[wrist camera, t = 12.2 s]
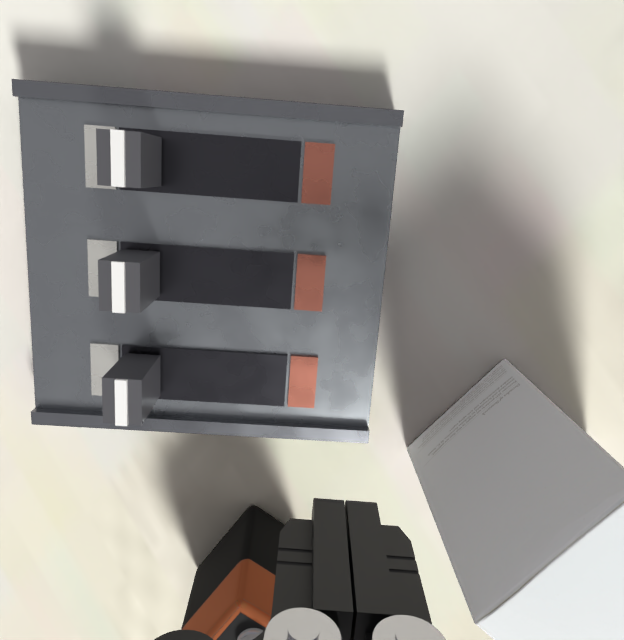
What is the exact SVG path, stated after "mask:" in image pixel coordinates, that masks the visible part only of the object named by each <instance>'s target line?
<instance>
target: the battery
mask: <svg viewBox="0 0 624 640" xmlns="http://www.w3.org/2000/svg"><path fill="white" fill-rule="evenodd" d="M284 526H285V525H284V524H283V523H281V522H279V521H278V520H276V519H275V518H273V517H272V516H270V515H269V514H267V513H266V512H264V511H263V510H261V509H260V508H258V507H256V506H251V507H249V508H248V509H247V510H246V511H245V512H244V514H243V515H242V516H241V517H240V518H239V520H238V521H237V522H236V523H235V524H234V525H233V527H232V528H231V529H230V530H229V531H228V533H227V534H226V535H225V536H224V537H223V539H222V540H221V541H220V542H219V543H218V545H217V546H216V547H215V548H214V549H213V550H212V552H211V553H210V554H209V555H208V556H207V558H206V559H205V560H204V561H203V562H202V564H201V565H200V566H199V567H198V569H197V571H196V575H195V579H194V582H193V586H192V590H191V594H190V598H189V602H188V606H187V610H186V614H185V617H184V621H183V625H182V629H181V630H195V631H199V632H202V633H204V634H206V635H208V636H209V637H211V638H212V639H213V640H253V639H254V638H256V637H257V636H258V635H260V634H261V633H262V632H263V631H264V629H265V628H266V627H267V625H268V623H269V621H270V618H271V614H272V604H273V594H274V585H275V575H276V566H277V556H278V546H279V537H280V531H281V530H282V528H283V527H284Z"/></svg>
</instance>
